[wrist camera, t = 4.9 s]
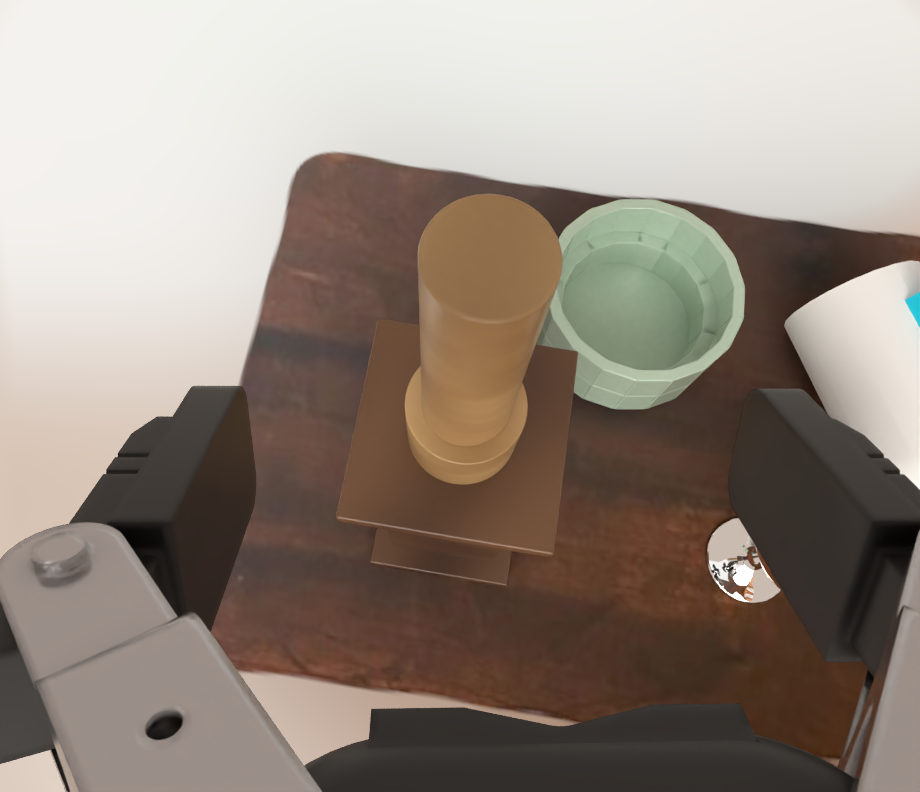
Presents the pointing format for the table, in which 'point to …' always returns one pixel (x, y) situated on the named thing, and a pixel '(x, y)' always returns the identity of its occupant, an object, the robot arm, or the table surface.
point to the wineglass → (739, 565)
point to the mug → (868, 358)
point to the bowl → (643, 302)
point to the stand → (445, 504)
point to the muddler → (478, 332)
